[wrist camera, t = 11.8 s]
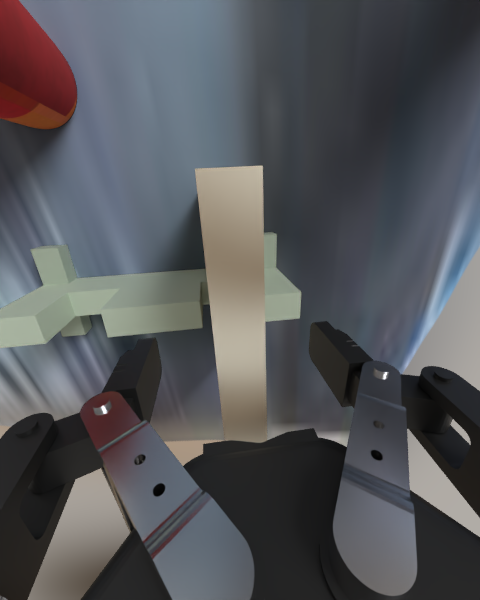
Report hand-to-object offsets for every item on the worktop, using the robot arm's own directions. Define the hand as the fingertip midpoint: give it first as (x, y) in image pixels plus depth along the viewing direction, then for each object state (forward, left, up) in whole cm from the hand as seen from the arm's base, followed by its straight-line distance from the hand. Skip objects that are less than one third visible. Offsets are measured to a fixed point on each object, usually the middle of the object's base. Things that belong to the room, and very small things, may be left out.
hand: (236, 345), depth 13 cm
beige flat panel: (0, 0, -12) cm, 12 cm away
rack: (0, -5, -12) cm, 13 cm away
